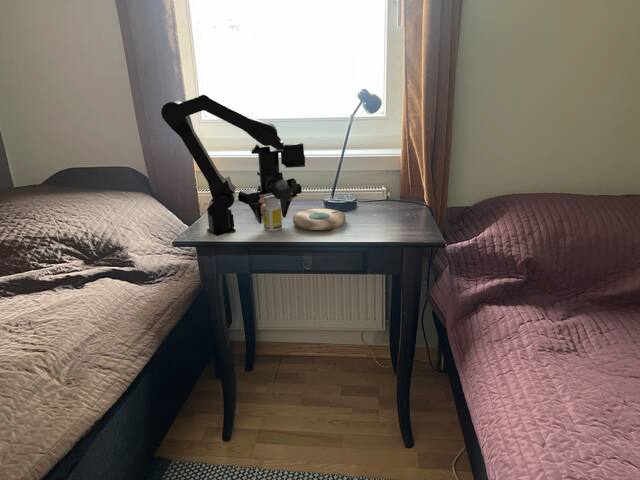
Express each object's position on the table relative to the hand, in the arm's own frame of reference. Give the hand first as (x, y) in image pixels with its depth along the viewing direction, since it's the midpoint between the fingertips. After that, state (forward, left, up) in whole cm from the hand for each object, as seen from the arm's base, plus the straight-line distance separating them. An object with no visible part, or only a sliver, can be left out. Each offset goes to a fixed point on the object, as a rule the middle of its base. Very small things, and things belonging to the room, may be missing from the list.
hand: (272, 220), depth 137 cm
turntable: (+13, -6, -3) cm, 15 cm away
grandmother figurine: (+7, +15, -3) cm, 17 cm away
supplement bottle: (0, 0, -3) cm, 3 cm away
